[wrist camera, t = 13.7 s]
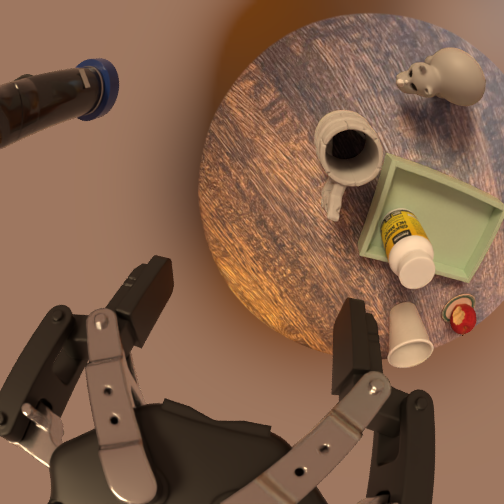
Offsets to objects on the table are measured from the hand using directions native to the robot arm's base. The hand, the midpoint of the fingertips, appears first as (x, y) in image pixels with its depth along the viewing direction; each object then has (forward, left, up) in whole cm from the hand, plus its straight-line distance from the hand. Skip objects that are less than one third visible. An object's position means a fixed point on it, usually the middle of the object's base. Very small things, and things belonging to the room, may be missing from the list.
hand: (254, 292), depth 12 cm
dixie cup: (+26, -25, -27) cm, 45 cm away
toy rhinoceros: (+15, +14, -27) cm, 34 cm away
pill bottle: (+16, -7, -27) cm, 32 cm away
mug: (+5, +1, -27) cm, 28 cm away
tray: (+22, -5, -27) cm, 35 cm away
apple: (+38, -21, -27) cm, 51 cm away
